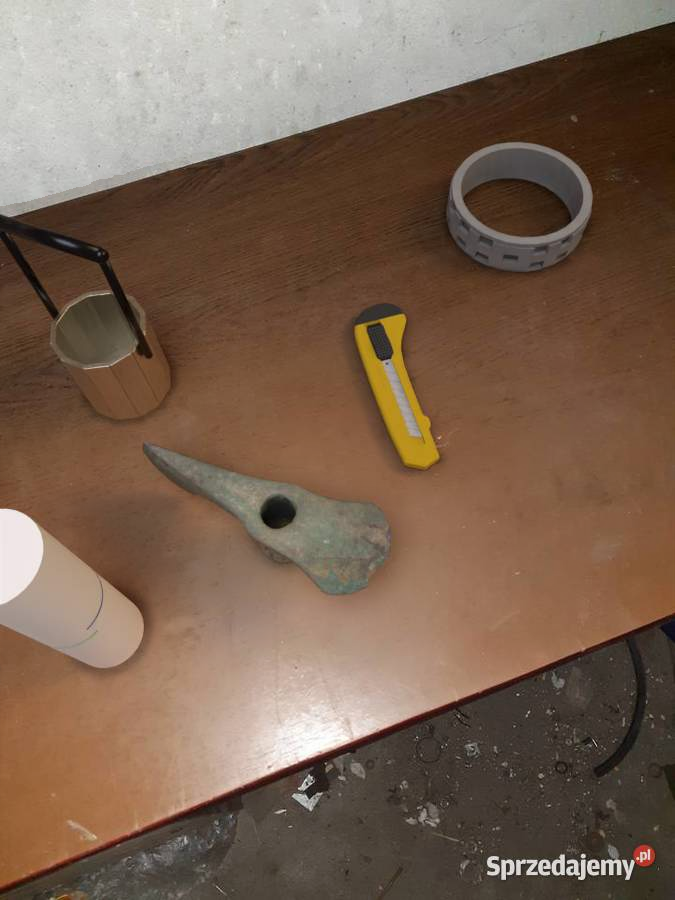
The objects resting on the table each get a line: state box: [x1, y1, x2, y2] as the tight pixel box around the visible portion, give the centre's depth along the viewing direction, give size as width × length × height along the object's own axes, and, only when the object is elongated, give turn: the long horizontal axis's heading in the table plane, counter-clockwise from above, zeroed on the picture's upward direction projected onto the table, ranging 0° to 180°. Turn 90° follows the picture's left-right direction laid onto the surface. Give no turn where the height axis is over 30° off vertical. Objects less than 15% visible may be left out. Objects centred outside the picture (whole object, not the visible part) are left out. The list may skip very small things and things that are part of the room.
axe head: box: [142, 442, 392, 596], centre depth 69 cm, size 27×10×10 cm, turn 63°
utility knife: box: [354, 302, 440, 471], centre depth 81 cm, size 7×22×2 cm, turn 16°
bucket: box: [0, 213, 172, 421], centre depth 71 cm, size 25×12×10 cm
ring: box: [445, 141, 594, 273], centre depth 90 cm, size 18×18×5 cm
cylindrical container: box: [0, 508, 145, 669], centre depth 59 cm, size 7×7×25 cm
